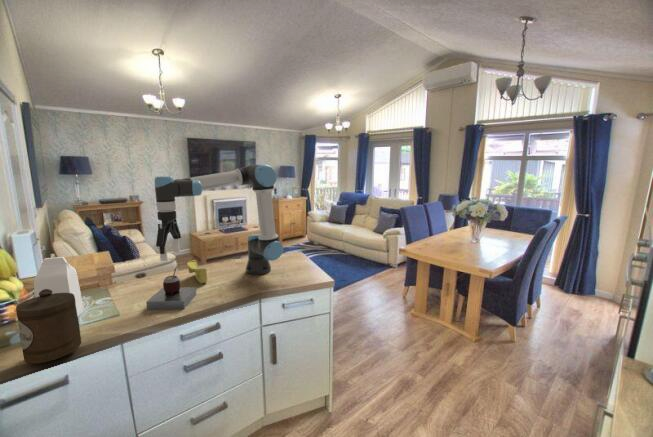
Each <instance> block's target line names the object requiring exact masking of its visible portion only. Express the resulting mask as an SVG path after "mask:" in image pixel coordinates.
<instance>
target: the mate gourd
mask: <svg viewBox="0 0 653 437" xmlns="http://www.w3.org/2000/svg"><path fill="white" fill-rule="evenodd" d="M180 265H181V264H178V265H177V266H175V268H174V271H173V275H169V276H166V277H165V278H164V279H163V281H162V283H163V284H162V286H163V287H162V288H164V291H165V295H168V294H171V296H173V294H175V293H180V291H179V289H180V287H181V279H180V278H179V277H178V276H177V275H175V274H176V272H177V268H179V266H180Z"/></svg>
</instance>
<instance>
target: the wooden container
mask: <svg viewBox="0 0 653 437" xmlns="http://www.w3.org/2000/svg"><path fill="white" fill-rule="evenodd" d="M15 312H16V317H17V323H18V330H19V338H20V344H21V349H22V350H21V351H22V356H23V359H24V362H26V363H29V364H42V363H46V362H51V361H56V360H58V359H61V358H63V357H66V356H67V355H69V354H72V353H73V352H75V351H76V350H77V349H78V348H79V347H80V346H81V345H82V336H81V330H80V321H79V316H77V310H76V303H75V297H74V294H72V293H54V294H52V290H49V289H44V290H42V291H41V292H39V296H38V297H35V296H34V297H32V298H30V299H27V300H24V301H22V302H20V303H18V304H17V305H16V306H15Z"/></svg>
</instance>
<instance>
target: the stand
mask: <svg viewBox="0 0 653 437" xmlns="http://www.w3.org/2000/svg"><path fill="white" fill-rule="evenodd" d="M179 291H180V293H175V294H173V296H171V294H168V295H165V291H164V287H162V288H161V289H160V290H158V291H157V292H156V293H154V295H153V296H151V297H150V298H149V299H148V300H146V310H147V311H157V310H159V311H160V310H161V311H163V310H164V311H165V310H185V309H186V307H188V305H189V304H190V303H191V302H192V301H193V299H195V297H196V296H197V287H196V286H194V287H193V286H191V287H189V286H188V287H187V286H186V287H181V286H180V289H179Z"/></svg>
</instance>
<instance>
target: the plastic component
mask: <svg viewBox="0 0 653 437" xmlns="http://www.w3.org/2000/svg"><path fill="white" fill-rule="evenodd" d="M186 265H187V267H188V272H189V274H192V273H194V274H195V279H196V281H197V282H198V283H199V284H207V282H208V279H207V278H208V277H207V269H206V268H203V267H201V268H199V265H198V260H197V259H193V260H190V261H188V262H187V264H186Z"/></svg>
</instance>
